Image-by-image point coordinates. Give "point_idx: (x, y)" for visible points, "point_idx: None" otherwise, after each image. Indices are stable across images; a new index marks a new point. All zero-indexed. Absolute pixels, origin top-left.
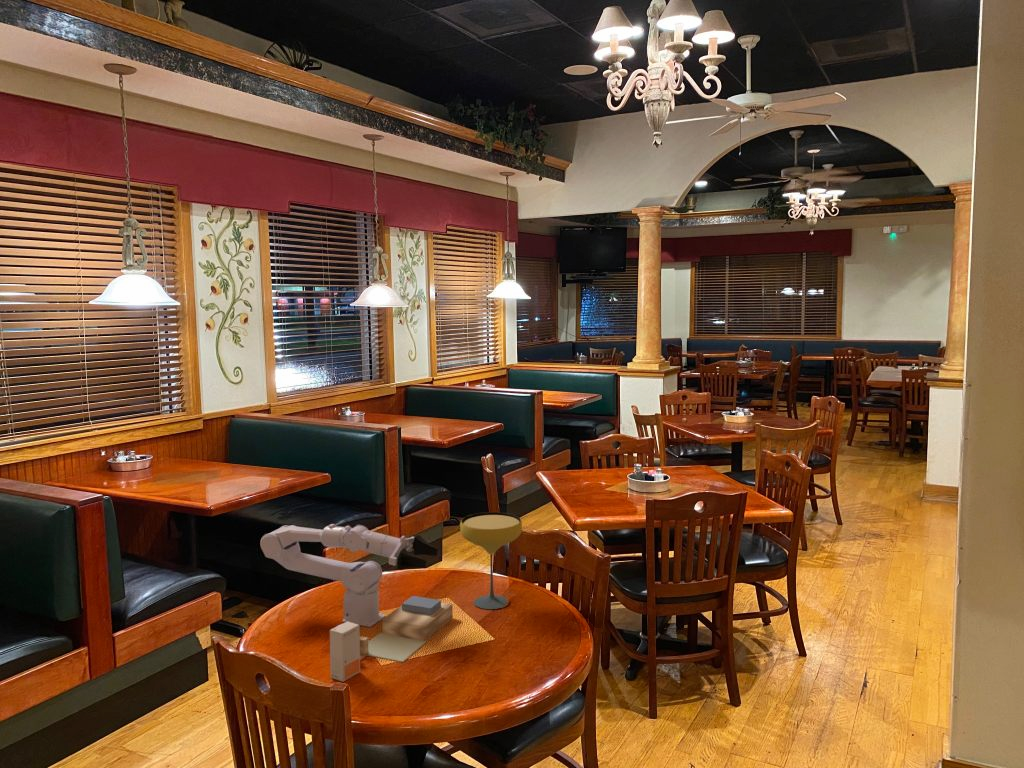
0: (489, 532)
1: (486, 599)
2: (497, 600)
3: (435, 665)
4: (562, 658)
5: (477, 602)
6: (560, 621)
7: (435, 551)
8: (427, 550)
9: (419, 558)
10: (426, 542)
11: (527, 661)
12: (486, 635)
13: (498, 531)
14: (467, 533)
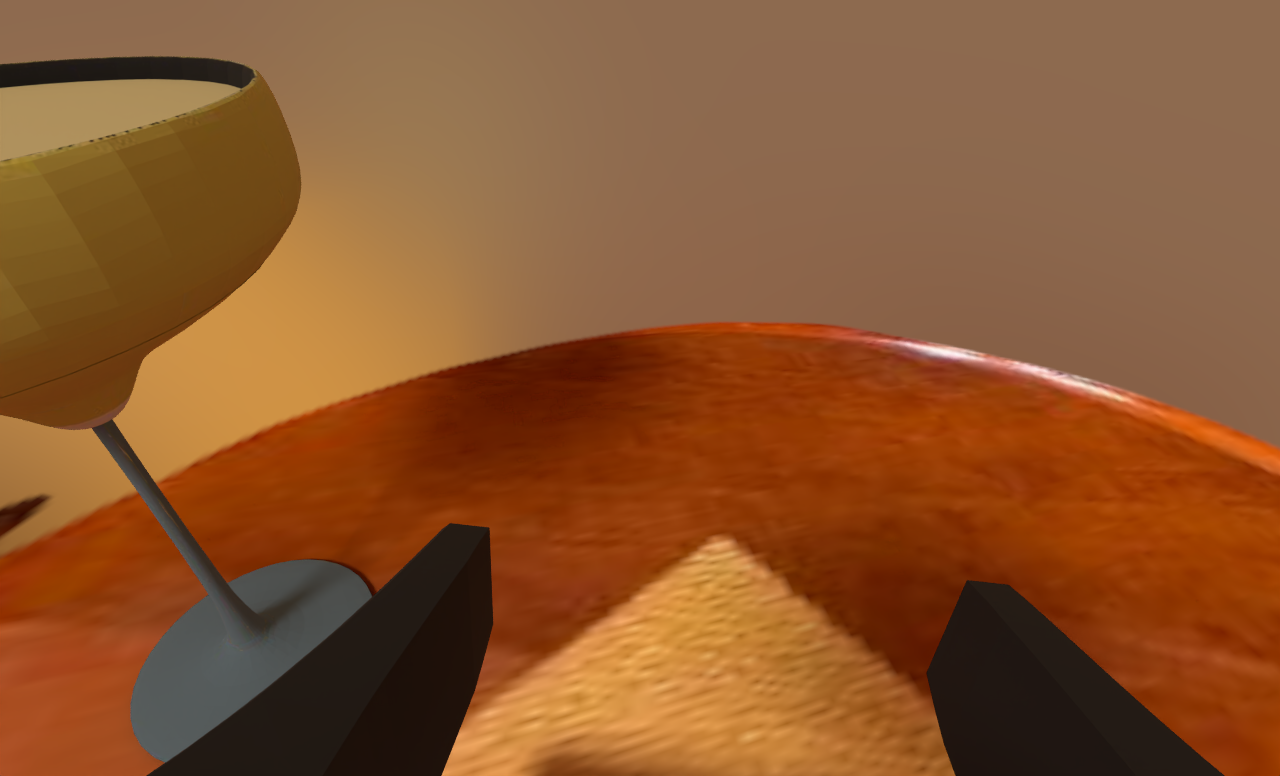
0: (266, 120)
1: (256, 665)
2: (286, 604)
3: None
4: (786, 350)
5: None
6: (514, 385)
7: (484, 584)
8: (411, 762)
9: (1106, 676)
10: (272, 717)
11: (855, 411)
12: (698, 574)
13: (273, 96)
14: (68, 259)
